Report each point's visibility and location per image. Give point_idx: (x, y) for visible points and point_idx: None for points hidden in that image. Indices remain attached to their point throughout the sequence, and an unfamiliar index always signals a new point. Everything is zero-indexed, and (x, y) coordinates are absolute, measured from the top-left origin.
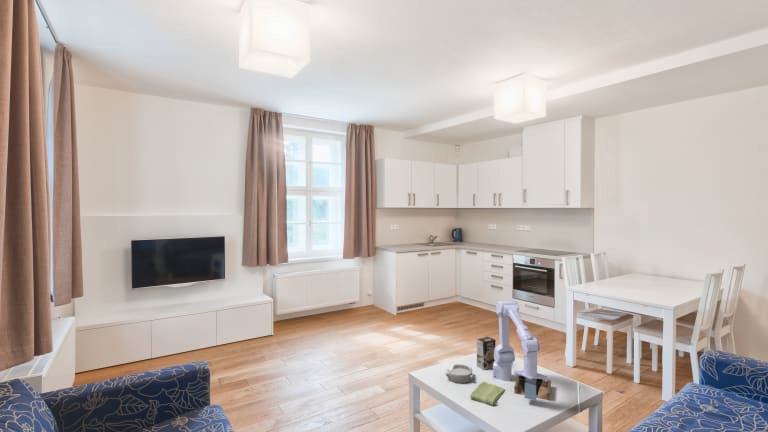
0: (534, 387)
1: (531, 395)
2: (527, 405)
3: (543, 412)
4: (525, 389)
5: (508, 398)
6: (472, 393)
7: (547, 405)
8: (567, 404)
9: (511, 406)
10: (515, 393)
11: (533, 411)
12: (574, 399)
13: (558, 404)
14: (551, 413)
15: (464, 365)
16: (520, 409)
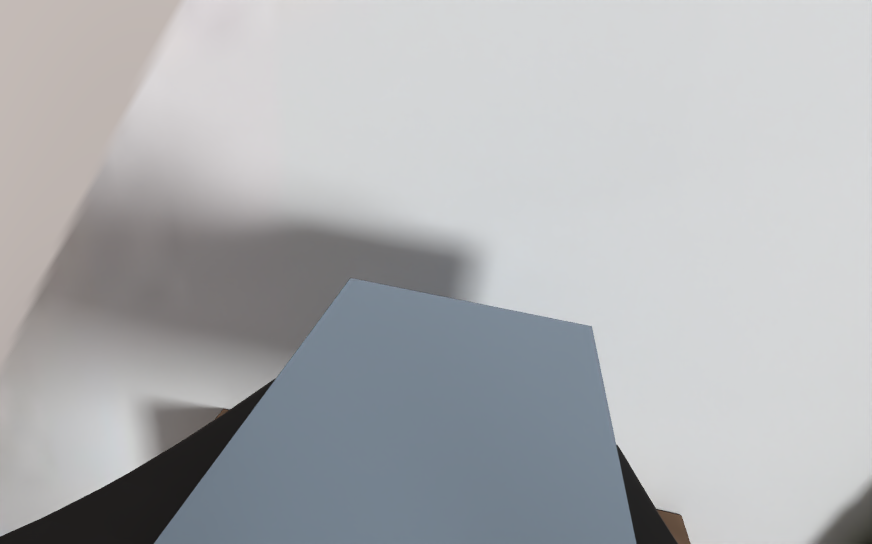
0: (229, 535)
1: (426, 346)
2: (523, 285)
3: (284, 129)
4: (594, 487)
5: (811, 431)
6: None
7: (244, 338)
8: (42, 397)
9: (840, 191)
10: (675, 538)
11: (441, 115)
12: (8, 493)
13: (127, 382)
14: (172, 132)
15: None
16: (675, 122)
